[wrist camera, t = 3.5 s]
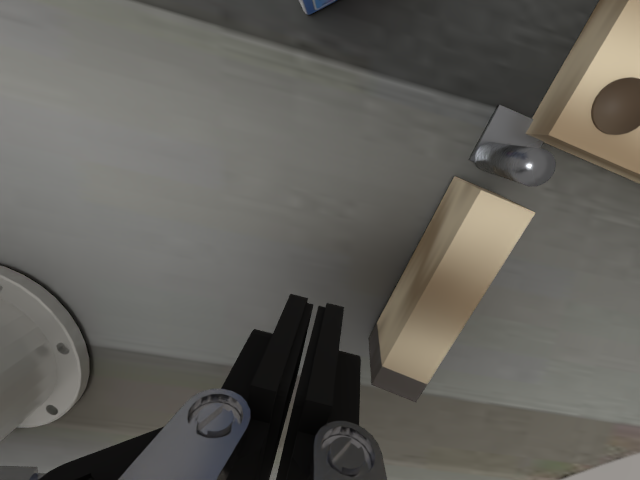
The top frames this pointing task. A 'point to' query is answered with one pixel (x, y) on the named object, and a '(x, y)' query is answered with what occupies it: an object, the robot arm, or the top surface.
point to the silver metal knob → (513, 150)
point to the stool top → (598, 93)
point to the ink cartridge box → (314, 5)
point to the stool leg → (443, 285)
